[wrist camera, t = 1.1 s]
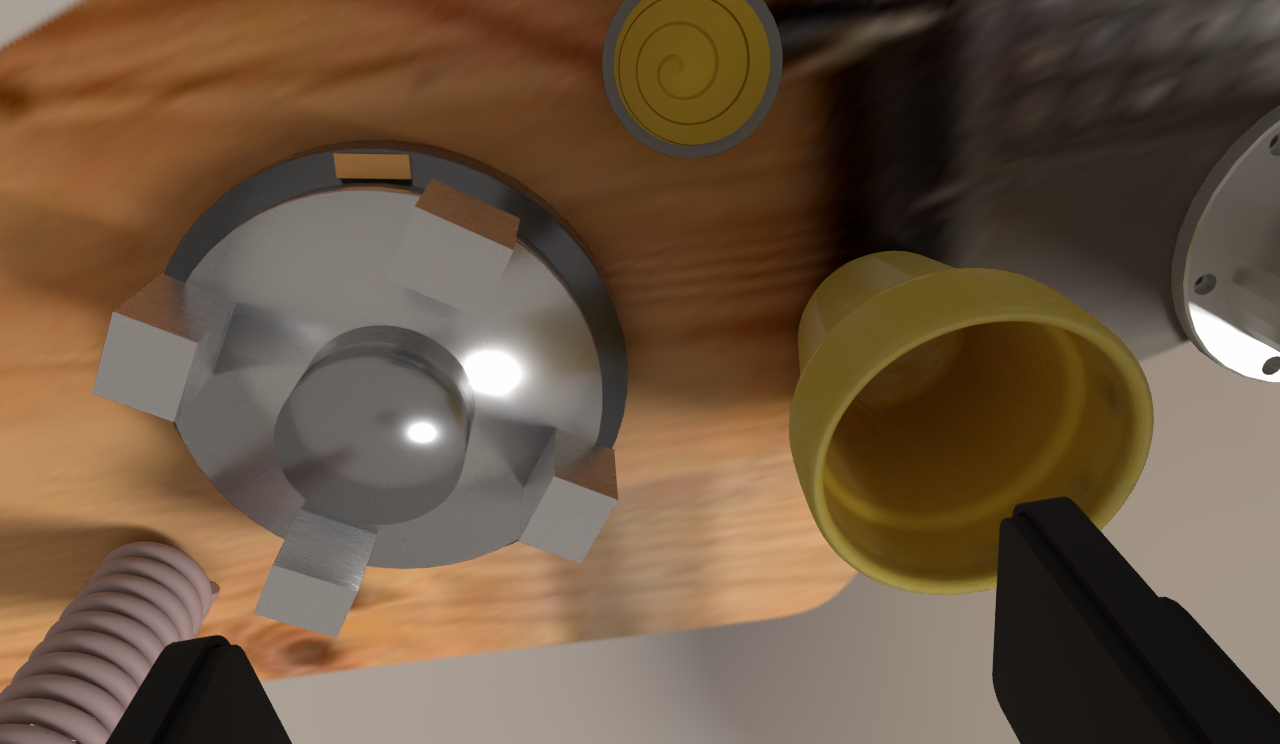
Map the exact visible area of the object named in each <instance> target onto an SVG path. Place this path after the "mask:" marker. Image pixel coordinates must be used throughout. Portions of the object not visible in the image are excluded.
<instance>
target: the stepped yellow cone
mask: <svg viewBox="0 0 1280 744" xmlns="http://www.w3.org/2000/svg"><path fill="white" fill-rule="evenodd" d="M782 63H783V52H782V45H781V38H780V34H779V31H778V28H777V25H776V22H775V20H774V17H773V15H772V14H771V12H770V10H769V9H768V7H767V5H766V4H765V2H764V1H763V0H624V1H623V2H622V3H621V5H620V6H619V8H618V10H617V12H616V13H615V15H614V17H613V19H612V20H611V23H610V26H609V28H608V31H607V34H606V37H605V41H604V48H603V54H602V75H603V81H604V85H605V90H606V94H607V97H608V99H609V102H610V104H611V106H612V109H613V111H614V112H615V114H616V116H617V117H618V119H619V120H620V122H621V123H622V125H623V126H624V127H625V128H626V129H627V130H628V131H629V132H630V133H631V134H632V135H633V136H634V137H635V138H636V139H637V140H639V141H640V142H642V143H643V144H645V145H646V146H648V147H649V148H651V149H653V150H656V151H658V152H660V153H663V154H665V155H670V156H675V157H680V158H701V157H706V156H711V155H716V154H718V153H721V152H723V151H726V150H728V149H730V148H732V147H734V146H735V145H737V144H738V143H740V142H741V141H743V140H744V139H746V138H747V137H748V136H749V135H750V134H751V133H752V132H753V131H754V130H755V129H756V128H757V127H758V126H759V125H760V124H761V122H762V121H763V119H764V118H765V117H766V115H767V114H768V112H769V111H770V109H771V107H772V104H773V102H774V100H775V98H776V95H777V93H778V89H779V85H780V81H781V76H782Z"/></svg>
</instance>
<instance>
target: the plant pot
mask: <svg viewBox="0 0 1280 744" xmlns="http://www.w3.org/2000/svg"><path fill="white" fill-rule="evenodd" d="M798 353H799V366H800V378H799V381H798V383H797V386H796V389H795V392H794V396H793V400H792V404H791V410H790V420H789V438H790V446H791V451H792V456H793V460H794V464H795V468H796V471H797V475H798V478H799V481H800V484H801V487H802V490H803V492H804V495H805V498H806V501H807V503H808V506H809V508H810V511H811V513H812V515H813V518H814V520H815V522H816V524H817V526H818V528H819V530H820V531H821V533H822V535H823V537H824V538H825V539H826V541H827V542H828V543H829V545H830V546H831V547H832V549H833V550H834V551H835V552H836V553H837V554H838V555H839V556H840V557H841V558H842V559H843V560H844V561H846V562H847V563H848V564H849V565H850V566H852V567H853V568H855V569H856V570H857V571H859V572H860V573H862V574H864V575H866V576H867V577H869V578H871V579H873V580H876V581H878V582H880V583H882V584H885V585H888V586H891V587H893V588H897V589H901V590H904V591H910V592H916V593H923V594H933V595H958V594H967V593H973V592H980V591H986V590H991V589H995V588H997V569H998V549H999V529H1000V523H1001V521H1002V519H1005V518H1011V517H1012V514H1013V509H1014V508H1015V506H1016V505H1017V504H1020V503H1026V502H1032V501H1038V500H1044V499H1050V498H1056V497H1062V496H1065V497H1068V498H1070V499H1072V500H1073V501H1074V502H1075V503H1076V504H1077V505H1078V506H1079V507H1080V509H1081V510H1082V511H1083V512H1084V513H1085V514H1086V515H1087V516H1088V518H1089V519H1090V520H1091V521H1092V522H1093V523H1094V524H1095V526H1096V527H1097V528H1098V529H1099V530H1101V529H1102V528H1103V527H1104V526H1105V525H1106V524H1107V523H1108V522H1109V521H1110V520H1111V519H1112V518H1113V516H1114V515H1115V514H1116V513H1117V512H1118V510H1119V509H1120V508H1121V507H1122V505H1123V504H1124V502H1125V501H1126V500H1127V498H1128V496H1129V495H1130V493H1131V492H1132V490H1133V489H1134V487H1135V485H1136V483H1137V481H1138V479H1139V477H1140V475H1141V472H1142V470H1143V468H1144V465H1145V463H1146V460H1147V457H1148V453H1149V449H1150V445H1151V440H1152V433H1153V421H1154V420H1153V404H1152V397H1151V393H1150V389H1149V385H1148V382H1147V380H1146V377H1145V375H1144V373H1143V371H1142V368H1141V367H1140V365H1139V363H1138V361H1137V360H1136V358H1135V357H1134V355H1133V354H1132V352H1131V351H1130V350H1129V349H1128V347H1127V346H1126V345H1125V344H1124V343H1123V342H1122V341H1121V340H1120V339H1119V338H1118V337H1117V336H1116V335H1115V334H1114V333H1113V332H1111V331H1110V330H1109V329H1108V328H1107V327H1105V326H1104V325H1103V324H1102V323H1100V322H1099V321H1098V320H1097V319H1095V318H1094V317H1093V316H1092V315H1090V314H1089V313H1088V312H1086V311H1085V310H1084V309H1082V308H1081V307H1079V306H1078V305H1077V304H1075V303H1074V302H1072V301H1071V300H1069V299H1068V298H1066V297H1065V296H1063V295H1061V294H1060V293H1058V292H1056V291H1055V290H1053V289H1052V288H1050V287H1048V286H1046V285H1044V284H1042V283H1040V282H1038V281H1036V280H1034V279H1031V278H1028V277H1026V276H1023V275H1020V274H1016V273H1012V272H1009V271H1003V270H998V269H990V268H960V269H957V268H954V267H951V266H949V265H946V264H943V263H941V262H938V261H935V260H933V259H930V258H927V257H925V256H922V255H919V254H916V253H911V252H906V251H885V252H878V253H873V254H869V255H866V256H863V257H860V258H857V259H855V260H852V261H850V262H848V263H846V264H844V265H843V266H841V267H840V268H838V269H837V270H836V271H834V272H833V273H832V274H831V275H829V276H828V277H827V278H826V279H825V280H824V281H823V282H822V283H821V284H820V285H819V287H818V288H817V289H816V291H815V292H814V293H813V295H812V296H811V298H810V299H809V301H808V303H807V305H806V307H805V309H804V311H803V314H802V317H801V321H800V325H799V329H798Z"/></svg>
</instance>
